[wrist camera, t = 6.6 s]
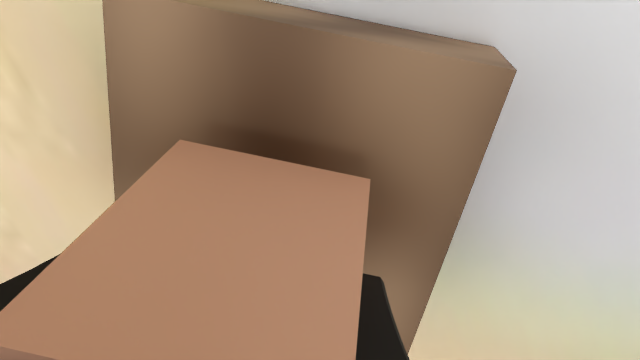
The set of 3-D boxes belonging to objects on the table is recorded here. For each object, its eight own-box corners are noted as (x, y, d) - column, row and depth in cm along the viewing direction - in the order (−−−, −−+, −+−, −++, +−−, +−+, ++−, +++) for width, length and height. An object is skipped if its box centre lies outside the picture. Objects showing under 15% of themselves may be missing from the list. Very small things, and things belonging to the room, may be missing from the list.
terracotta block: (370, 179, 10) (350, 427, 5) (335, 319, 13) (296, 594, 7) (179, 139, 11) (-30, 338, 5) (178, 285, 13) (29, 528, 7)
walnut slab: (491, 43, 13) (516, 70, 10) (403, 298, 18) (405, 359, 15) (157, -24, 14) (101, -14, 11) (159, 243, 18) (120, 294, 16)
